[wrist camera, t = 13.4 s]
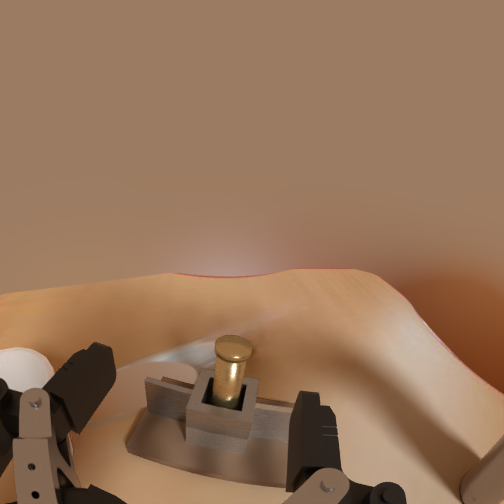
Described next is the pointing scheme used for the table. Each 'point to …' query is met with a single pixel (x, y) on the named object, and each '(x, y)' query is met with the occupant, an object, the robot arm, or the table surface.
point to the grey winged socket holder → (218, 413)
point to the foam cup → (25, 370)
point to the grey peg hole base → (210, 450)
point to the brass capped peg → (229, 370)
